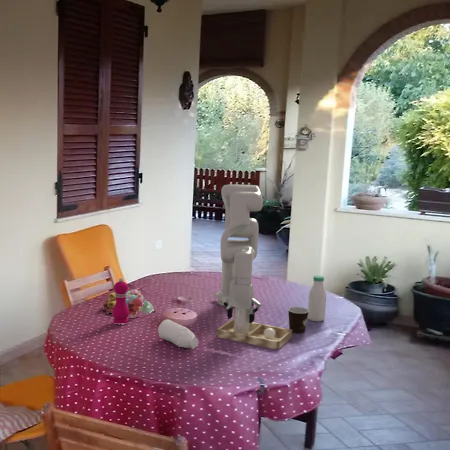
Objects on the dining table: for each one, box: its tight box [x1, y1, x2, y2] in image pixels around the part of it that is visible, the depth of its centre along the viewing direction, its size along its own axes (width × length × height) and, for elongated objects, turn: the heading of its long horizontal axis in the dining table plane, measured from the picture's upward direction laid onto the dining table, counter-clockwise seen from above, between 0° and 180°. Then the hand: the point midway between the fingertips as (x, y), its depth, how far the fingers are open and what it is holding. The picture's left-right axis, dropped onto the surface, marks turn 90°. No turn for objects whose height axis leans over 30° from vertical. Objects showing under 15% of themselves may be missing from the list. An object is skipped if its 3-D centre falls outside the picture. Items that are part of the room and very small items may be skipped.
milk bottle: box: [307, 275, 327, 322], centre depth 267 cm, size 8×8×20 cm
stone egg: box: [264, 328, 276, 340], centre depth 239 cm, size 5×5×5 cm
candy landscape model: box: [101, 288, 156, 317], centre depth 273 cm, size 25×24×9 cm
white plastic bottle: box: [157, 319, 199, 350], centre depth 232 cm, size 8×19×8 cm, turn 42°
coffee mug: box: [287, 306, 309, 335], centre depth 251 cm, size 12×9×10 cm
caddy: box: [216, 317, 293, 351], centre depth 242 cm, size 27×16×4 cm, turn 65°
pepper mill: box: [111, 277, 129, 324], centre depth 253 cm, size 7×7×20 cm
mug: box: [233, 307, 250, 334], centre depth 244 cm, size 10×7×12 cm, turn 160°
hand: (240, 320), depth 244 cm, fingers open, 9 cm apart
